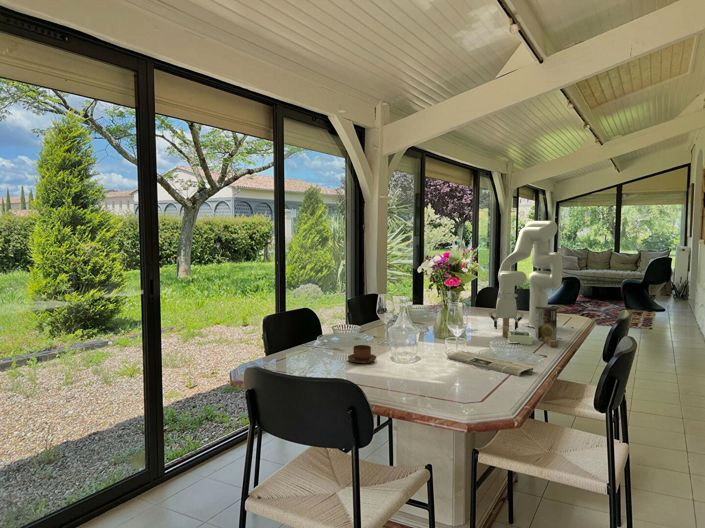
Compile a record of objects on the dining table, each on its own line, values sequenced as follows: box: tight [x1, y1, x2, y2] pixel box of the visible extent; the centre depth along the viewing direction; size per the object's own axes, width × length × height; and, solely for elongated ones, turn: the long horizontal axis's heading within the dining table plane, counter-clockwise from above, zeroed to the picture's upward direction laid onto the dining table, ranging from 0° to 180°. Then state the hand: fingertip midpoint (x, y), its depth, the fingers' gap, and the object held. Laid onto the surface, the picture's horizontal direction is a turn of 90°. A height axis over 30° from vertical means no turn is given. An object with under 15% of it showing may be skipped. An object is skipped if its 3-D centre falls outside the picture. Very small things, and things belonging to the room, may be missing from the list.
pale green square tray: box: [507, 330, 533, 346], centre depth 246 cm, size 11×11×4 cm
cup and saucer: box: [347, 344, 377, 364], centre depth 210 cm, size 12×12×6 cm
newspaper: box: [447, 350, 538, 377], centre depth 205 cm, size 35×12×4 cm, turn 41°
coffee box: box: [534, 306, 558, 341], centre depth 251 cm, size 9×6×16 cm
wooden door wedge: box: [543, 336, 559, 348], centre depth 241 cm, size 12×3×3 cm, turn 174°
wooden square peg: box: [502, 318, 510, 338], centre depth 258 cm, size 3×3×12 cm
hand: (505, 329), depth 258 cm, fingers open, 9 cm apart
